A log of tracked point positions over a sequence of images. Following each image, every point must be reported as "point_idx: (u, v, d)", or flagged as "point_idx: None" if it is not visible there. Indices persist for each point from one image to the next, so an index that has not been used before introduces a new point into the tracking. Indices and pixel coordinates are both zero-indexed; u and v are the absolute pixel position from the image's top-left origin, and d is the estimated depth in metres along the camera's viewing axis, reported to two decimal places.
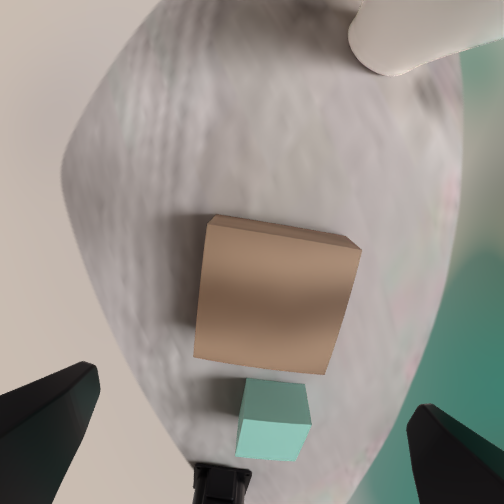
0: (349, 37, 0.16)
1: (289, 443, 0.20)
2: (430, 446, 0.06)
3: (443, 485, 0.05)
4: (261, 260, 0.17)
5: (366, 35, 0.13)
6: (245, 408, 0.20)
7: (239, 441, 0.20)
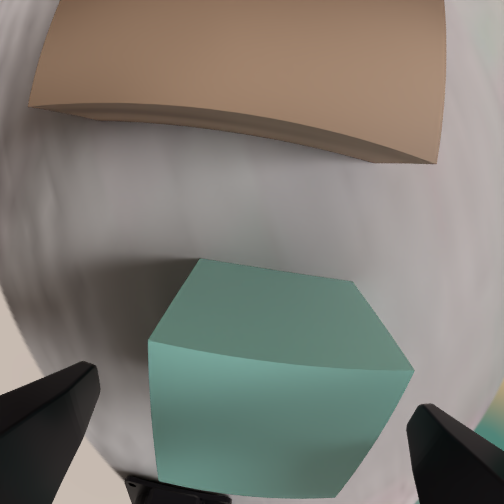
0: None
1: (328, 451, 0.06)
2: (430, 446, 0.06)
3: (443, 485, 0.05)
4: None
5: None
6: (169, 312, 0.06)
7: (157, 438, 0.06)
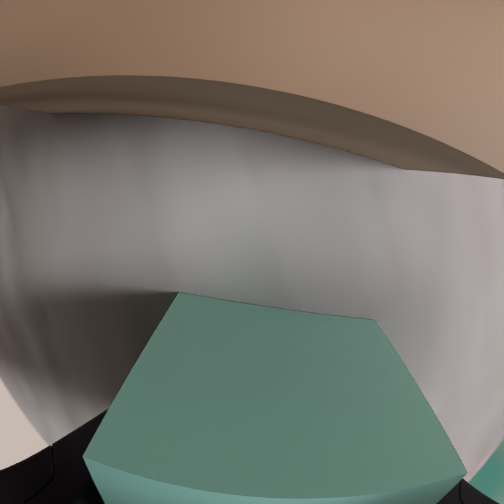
0: None
1: None
2: None
3: None
4: None
5: None
6: (120, 399, 0.04)
7: None
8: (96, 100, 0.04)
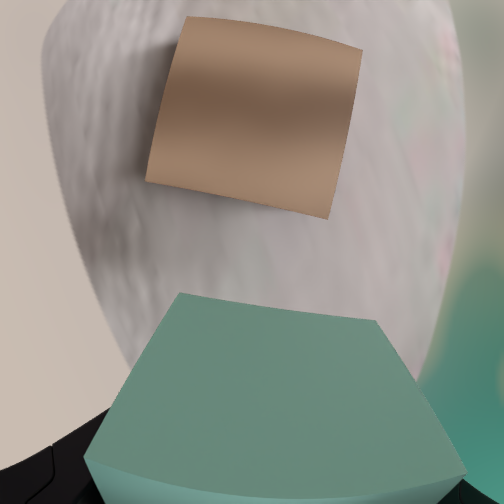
0: None
1: None
2: None
3: None
4: (243, 48, 0.12)
5: None
6: (121, 400, 0.04)
7: None
8: None
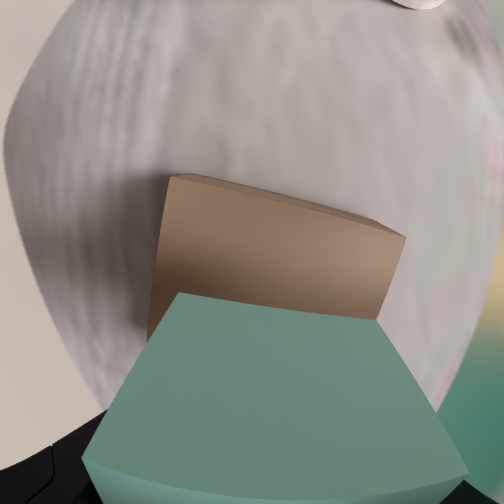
0: None
1: None
2: None
3: None
4: (251, 241, 0.11)
5: None
6: (119, 400, 0.03)
7: None
8: None
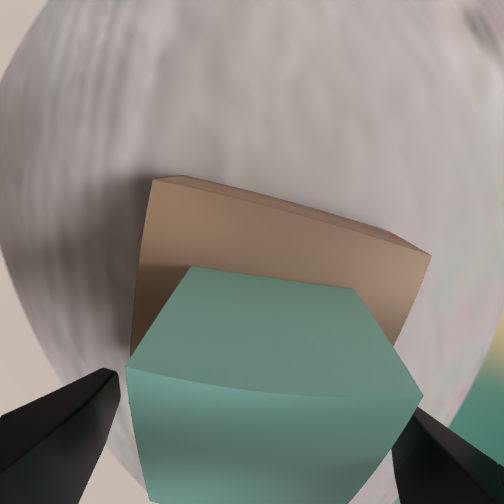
0: None
1: (328, 477, 0.05)
2: (411, 449, 0.06)
3: (425, 490, 0.05)
4: (250, 259, 0.09)
5: None
6: (151, 332, 0.05)
7: (144, 462, 0.05)
8: None
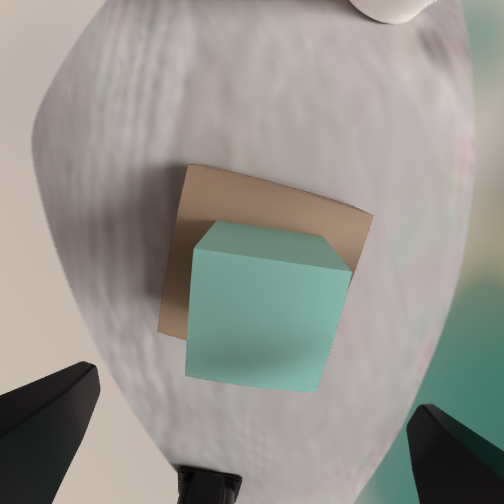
0: None
1: (304, 336, 0.10)
2: (430, 446, 0.06)
3: (443, 485, 0.05)
4: (250, 215, 0.14)
5: None
6: (203, 239, 0.10)
7: (189, 328, 0.10)
8: None
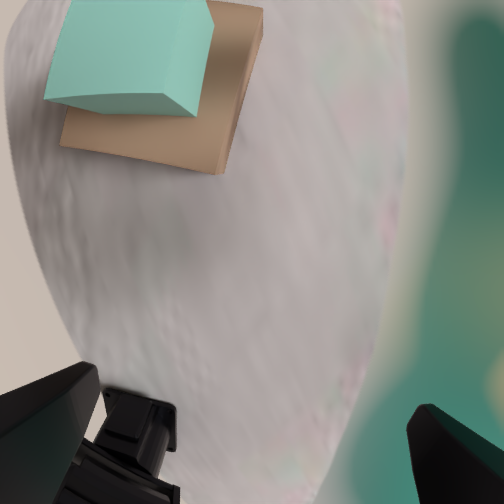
0: None
1: (149, 26, 0.07)
2: (430, 446, 0.06)
3: (443, 485, 0.05)
4: None
5: None
6: None
7: (57, 47, 0.08)
8: None
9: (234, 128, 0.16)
